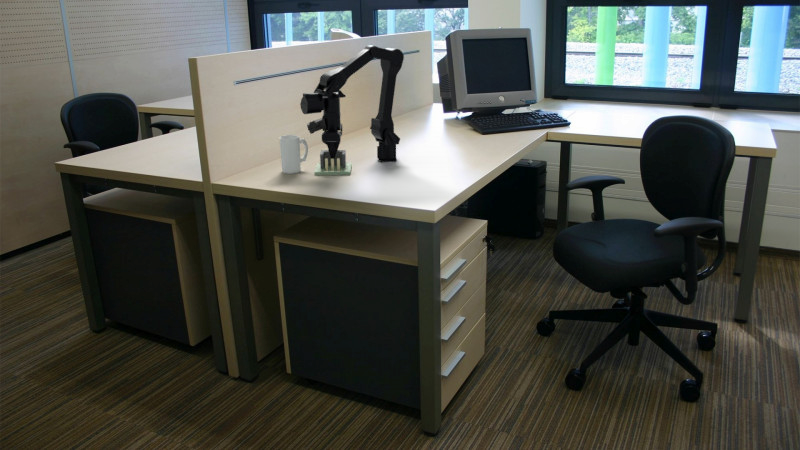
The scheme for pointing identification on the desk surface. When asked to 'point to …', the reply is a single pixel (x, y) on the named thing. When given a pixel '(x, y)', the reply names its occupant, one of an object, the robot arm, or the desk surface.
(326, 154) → the grey c-shaped bracket
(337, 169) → the board
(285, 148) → the mug
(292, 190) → the desk surface
